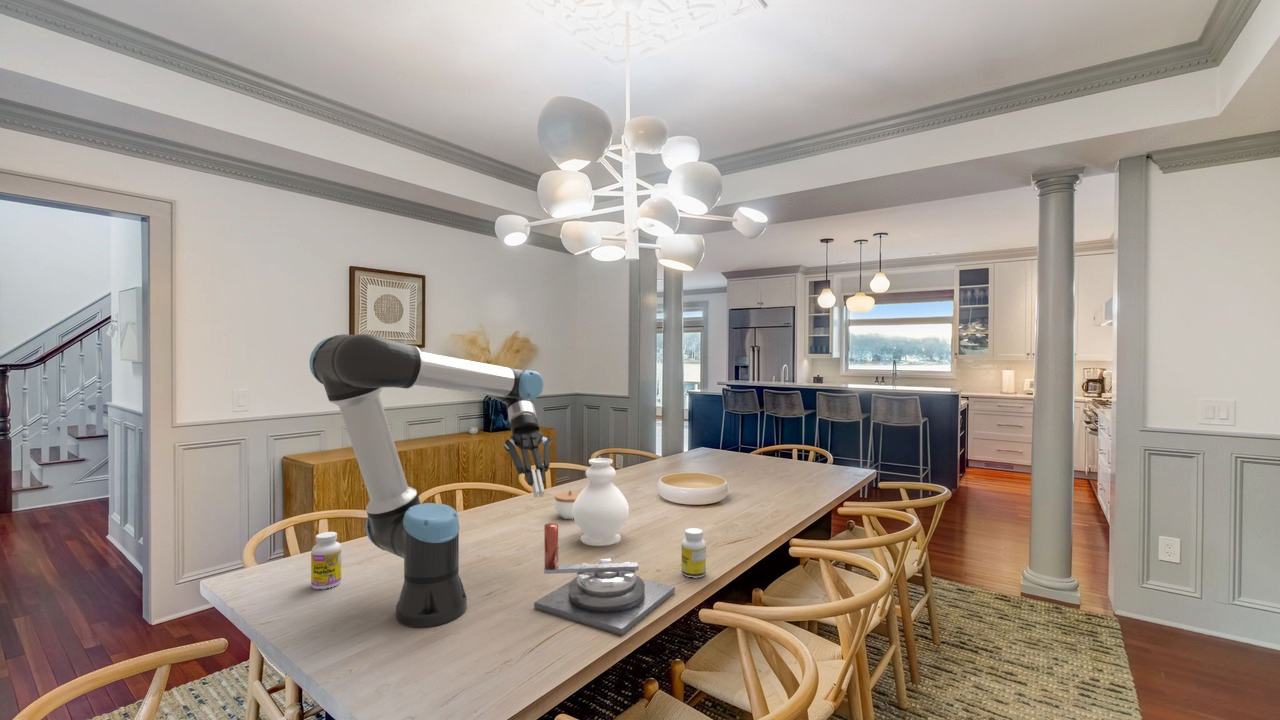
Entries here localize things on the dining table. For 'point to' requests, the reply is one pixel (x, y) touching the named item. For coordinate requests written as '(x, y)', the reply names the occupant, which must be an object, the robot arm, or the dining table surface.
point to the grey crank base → (606, 605)
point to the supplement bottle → (326, 561)
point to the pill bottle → (693, 553)
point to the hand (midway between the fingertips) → (539, 494)
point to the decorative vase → (600, 505)
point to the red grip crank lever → (590, 570)
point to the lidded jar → (565, 503)
